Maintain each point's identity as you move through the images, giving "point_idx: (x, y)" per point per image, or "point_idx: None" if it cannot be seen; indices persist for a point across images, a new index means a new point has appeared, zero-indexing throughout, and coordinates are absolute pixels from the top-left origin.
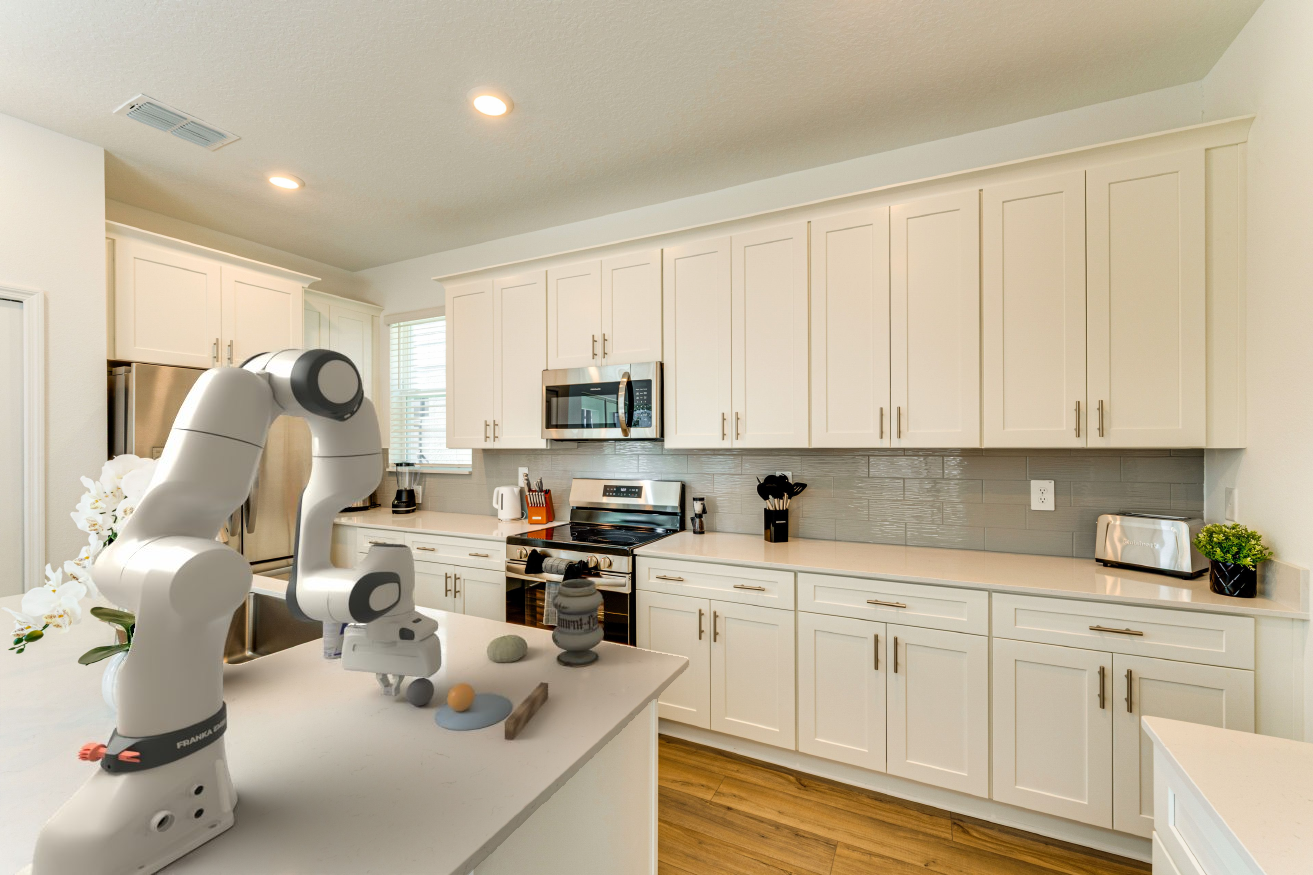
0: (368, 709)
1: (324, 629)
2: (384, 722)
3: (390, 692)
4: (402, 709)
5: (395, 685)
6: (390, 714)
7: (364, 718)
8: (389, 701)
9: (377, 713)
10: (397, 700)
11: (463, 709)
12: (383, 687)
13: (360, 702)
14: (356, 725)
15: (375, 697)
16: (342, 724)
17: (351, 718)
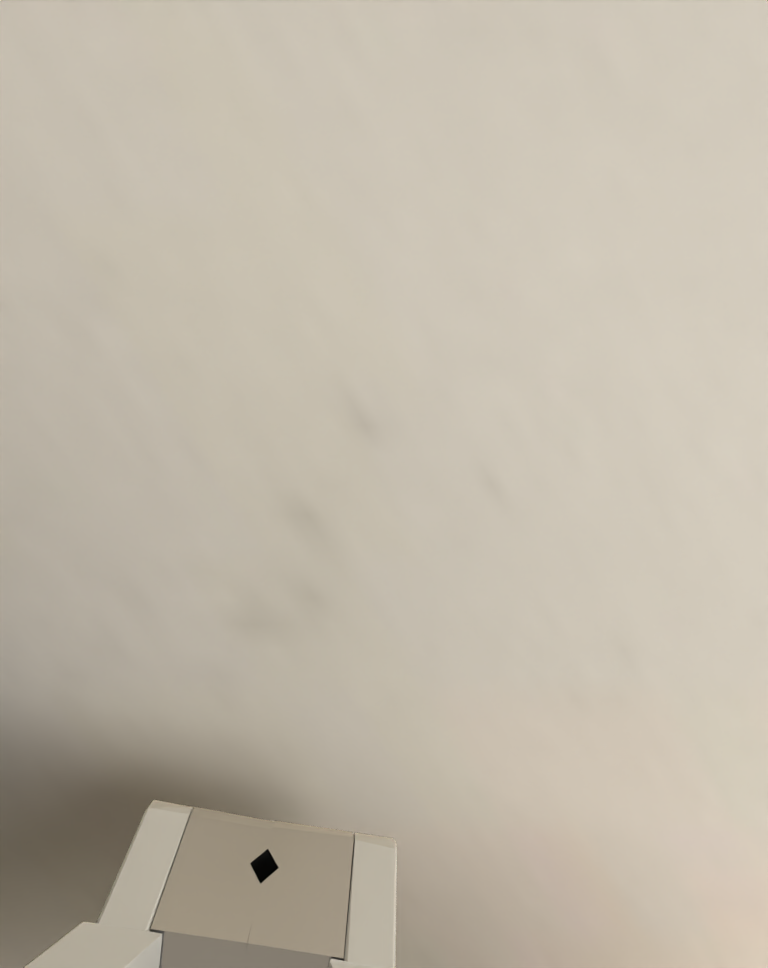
0: (505, 588)
1: None
2: (11, 187)
3: (211, 848)
4: (7, 591)
5: (37, 963)
6: (86, 450)
7: (424, 318)
8: (326, 786)
9: (304, 477)
10: (234, 808)
11: None
12: (346, 944)
13: (713, 764)
14: (437, 60)
15: (568, 875)
16: (711, 92)
17: (642, 314)
